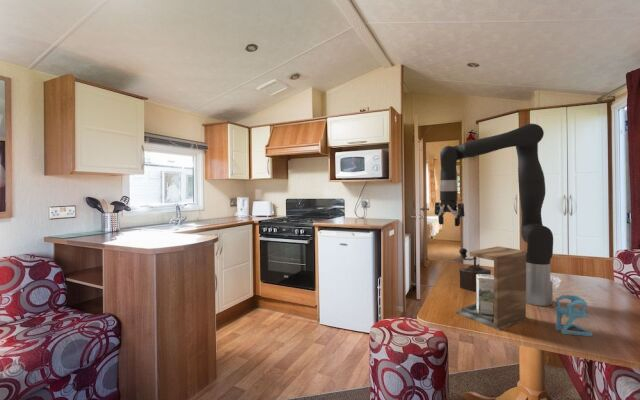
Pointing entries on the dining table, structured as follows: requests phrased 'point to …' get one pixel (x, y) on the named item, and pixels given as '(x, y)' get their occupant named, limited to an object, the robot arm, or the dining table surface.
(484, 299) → the syrup box
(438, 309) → the dining table surface
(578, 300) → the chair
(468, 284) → the coffee grinder
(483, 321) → the walnut shelf
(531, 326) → the dining table surface
